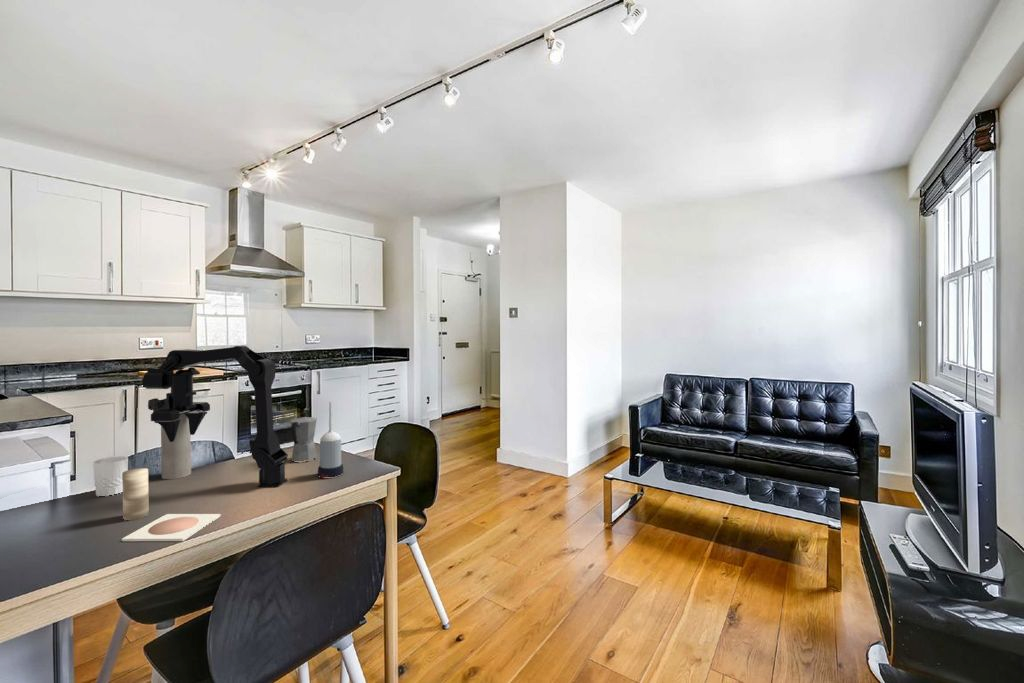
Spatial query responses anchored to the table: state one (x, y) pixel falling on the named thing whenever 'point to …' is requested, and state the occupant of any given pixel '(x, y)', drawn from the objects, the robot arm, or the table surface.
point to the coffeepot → (303, 438)
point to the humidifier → (330, 452)
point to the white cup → (109, 475)
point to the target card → (172, 527)
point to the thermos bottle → (176, 451)
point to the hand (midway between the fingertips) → (182, 438)
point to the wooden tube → (135, 494)
